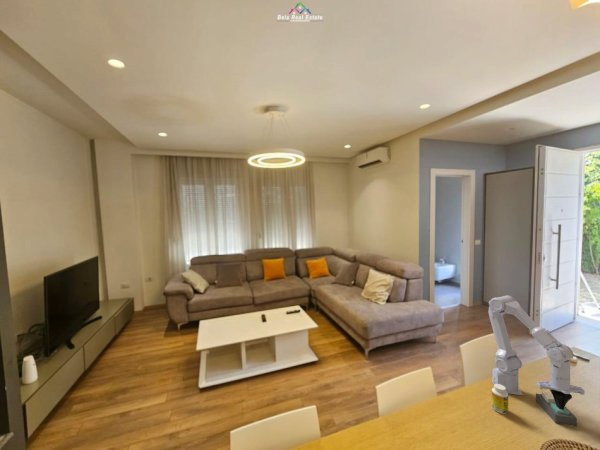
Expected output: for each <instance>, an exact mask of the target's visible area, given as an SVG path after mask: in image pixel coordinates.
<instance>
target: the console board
mask: <svg viewBox="0 0 600 450" xmlns="http://www.w3.org/2000/svg"><path fill="white" fill-rule="evenodd" d="M535 401H536V402H537V404H538V405H539V406H540V407H541V408H542V410H543V411H544V412H545V413H546V414H547V415H548V416H549V417H550V419H551V420H552V421H553V423H555V424H559V425H565V426H571V427H578V423H577V424H573V423H567V422H560V421H555V420H554V419H553V417H552V416H551V415H550V414H549V413H548V412H547V411H546V410H545V408H544V407H543V406H542V405H541V404H540V403H539V402H538V400H537V399H536V398H535ZM549 404H550V403H549Z"/></svg>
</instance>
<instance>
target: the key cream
mask: <svg viewBox="0 0 600 450" xmlns="http://www.w3.org/2000/svg"><path fill="white" fill-rule="evenodd" d="M541 394H542V397H543V398H544V399H545V400H546V401H547V403H553V404H556V403H555V400H554V397H553V395H552V393H551V392H543V391H542V392H541Z"/></svg>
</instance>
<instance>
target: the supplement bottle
mask: <svg viewBox="0 0 600 450" xmlns="http://www.w3.org/2000/svg"><path fill="white" fill-rule="evenodd" d="M491 407H492V409H493V410H494V411H496V412H497V413H498V414H501V415H507V414H508V413H509V393H507V392H506V388H505V387H504V386H503V385H501V384H493V387H492V388H491Z"/></svg>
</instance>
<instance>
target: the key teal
mask: <svg viewBox="0 0 600 450" xmlns="http://www.w3.org/2000/svg"><path fill="white" fill-rule="evenodd" d="M550 407H551V408H552V409H553V410H554V411H555V412H556V413H559V414H566V415H570V412H571V411H570V410H569V409H568V408H567V407H566V406H565V407H566V408H567V409H568V410H569V411H570V412H569V411H568V410H567V409H566V408H565V407H564V410H562V409H559V408H558V407H557V406H556V404H553V403H550Z"/></svg>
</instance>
